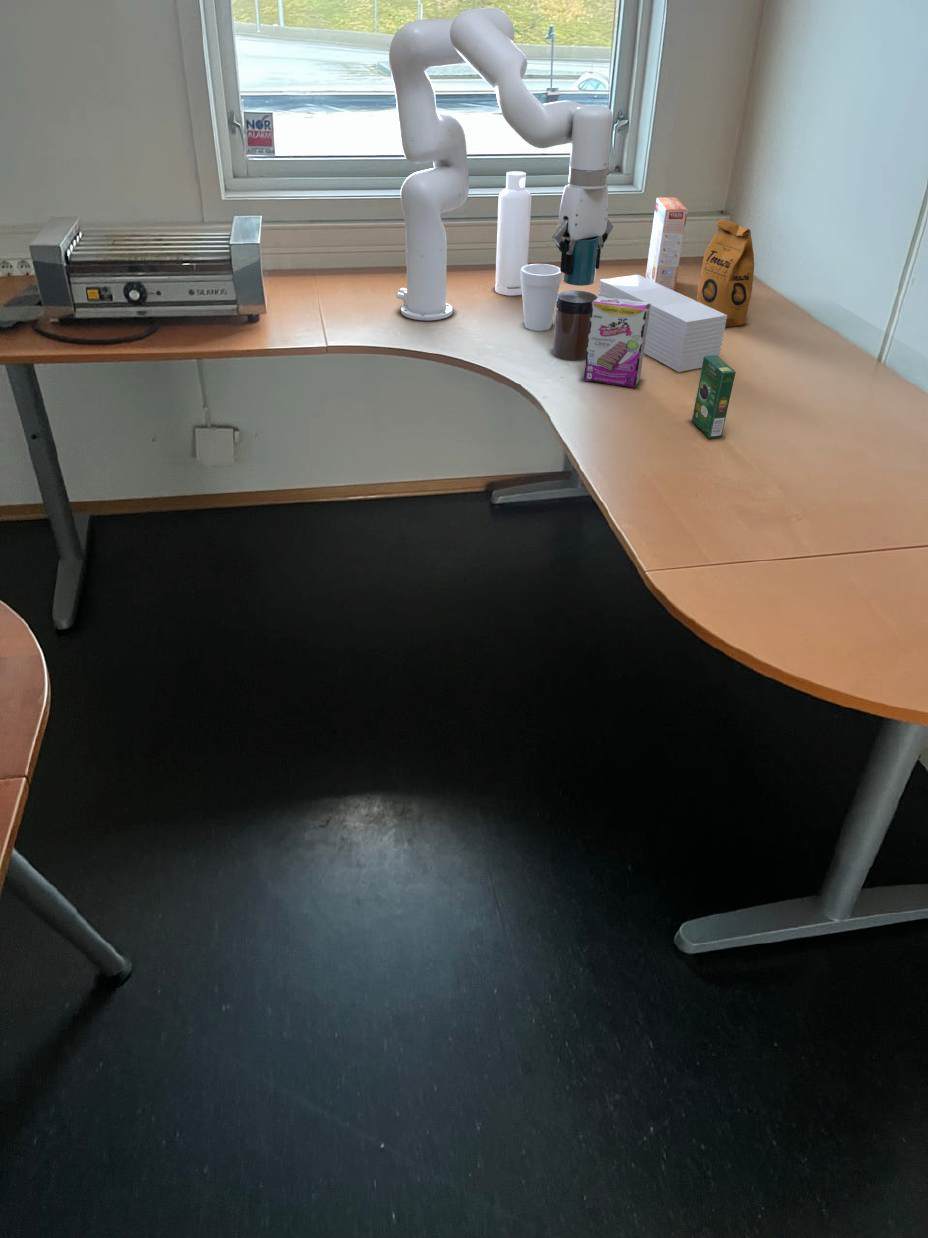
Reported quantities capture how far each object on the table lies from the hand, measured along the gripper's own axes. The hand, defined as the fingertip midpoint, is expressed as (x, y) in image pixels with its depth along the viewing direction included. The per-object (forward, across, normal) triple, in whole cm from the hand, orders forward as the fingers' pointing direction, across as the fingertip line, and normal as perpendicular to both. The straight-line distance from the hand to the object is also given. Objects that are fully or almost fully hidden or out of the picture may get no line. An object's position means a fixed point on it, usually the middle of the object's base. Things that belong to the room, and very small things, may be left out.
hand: (579, 269), depth 192 cm
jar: (+18, 0, 0) cm, 18 cm away
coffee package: (+18, -45, +3) cm, 49 cm away
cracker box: (+18, -53, -24) cm, 61 cm away
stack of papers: (+18, -19, +6) cm, 27 cm away
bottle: (+18, -17, -43) cm, 50 cm away
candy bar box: (+18, +4, +16) cm, 25 cm away
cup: (+2, 0, 0) cm, 2 cm away
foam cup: (+18, -6, -18) cm, 26 cm away
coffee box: (+18, +6, +44) cm, 48 cm away
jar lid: (+6, 0, 0) cm, 6 cm away
